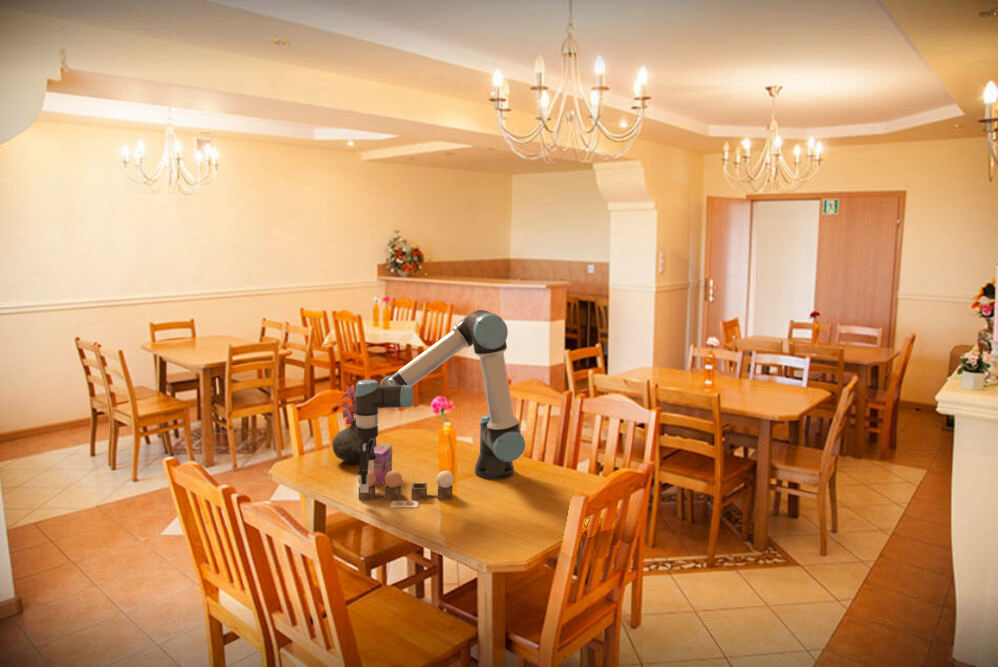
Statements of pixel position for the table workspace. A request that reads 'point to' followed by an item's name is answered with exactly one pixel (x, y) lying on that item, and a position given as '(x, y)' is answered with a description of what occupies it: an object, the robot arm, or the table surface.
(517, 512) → the table surface
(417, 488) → the rack
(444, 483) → the ball cream
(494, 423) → the robot arm
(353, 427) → the vase
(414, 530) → the table surface
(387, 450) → the box
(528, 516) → the table surface
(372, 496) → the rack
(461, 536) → the table surface
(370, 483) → the terracotta ball
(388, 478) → the terracotta ball
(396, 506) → the card
